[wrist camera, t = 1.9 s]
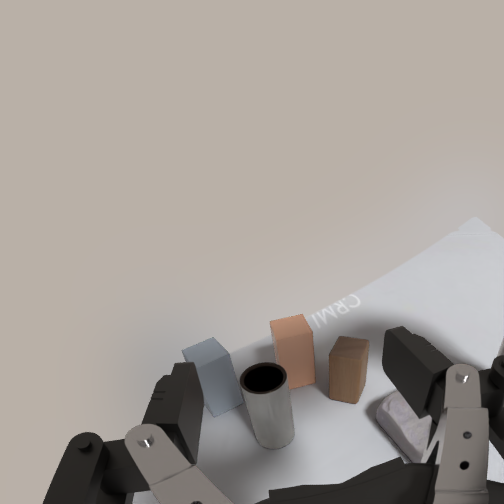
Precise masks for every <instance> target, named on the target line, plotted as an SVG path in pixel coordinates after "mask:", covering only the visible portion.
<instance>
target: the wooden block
mask: <svg viewBox="0 0 504 504" xmlns="http://www.w3.org/2000/svg"><path fill="white" fill-rule="evenodd" d="M368 351H369V341H368V340H366V339H358V338H351V337H344V336H340V337H339V338H338V340H337V341H336V343H335V345H334V347H333V349H332V350H331V352H330V354H329V398H330V399H333V400H338V401H342V402H347V403H352V404H356V403H357V402H358V401H359V398H360V396H361V394H362V391H363V389H364V386H365V382H366V373H367V363H368Z"/></svg>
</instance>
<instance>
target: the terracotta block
mask: <svg viewBox="0 0 504 504" xmlns="http://www.w3.org/2000/svg"><path fill="white" fill-rule="evenodd" d="M270 327H271V333H272V339H273V345H274V351H275V357H276V363H277V364H278V365H280V366H282V367H283V368H284V369H285V370H286V372H287V377H288V384H289V389H294V388H298V387H302V386H305V385H309V384H313V383H315V364H314V347H313V332H312V330H311V328H310V326H309V325H308V323H307V321H306V319H305V317H304V316H303V314H300V315H296V316H291V317H287V318H283V319H278V320H274V321H270Z"/></svg>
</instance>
